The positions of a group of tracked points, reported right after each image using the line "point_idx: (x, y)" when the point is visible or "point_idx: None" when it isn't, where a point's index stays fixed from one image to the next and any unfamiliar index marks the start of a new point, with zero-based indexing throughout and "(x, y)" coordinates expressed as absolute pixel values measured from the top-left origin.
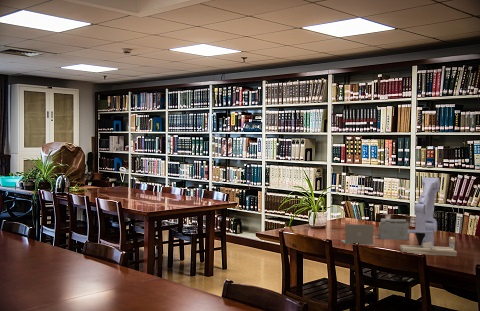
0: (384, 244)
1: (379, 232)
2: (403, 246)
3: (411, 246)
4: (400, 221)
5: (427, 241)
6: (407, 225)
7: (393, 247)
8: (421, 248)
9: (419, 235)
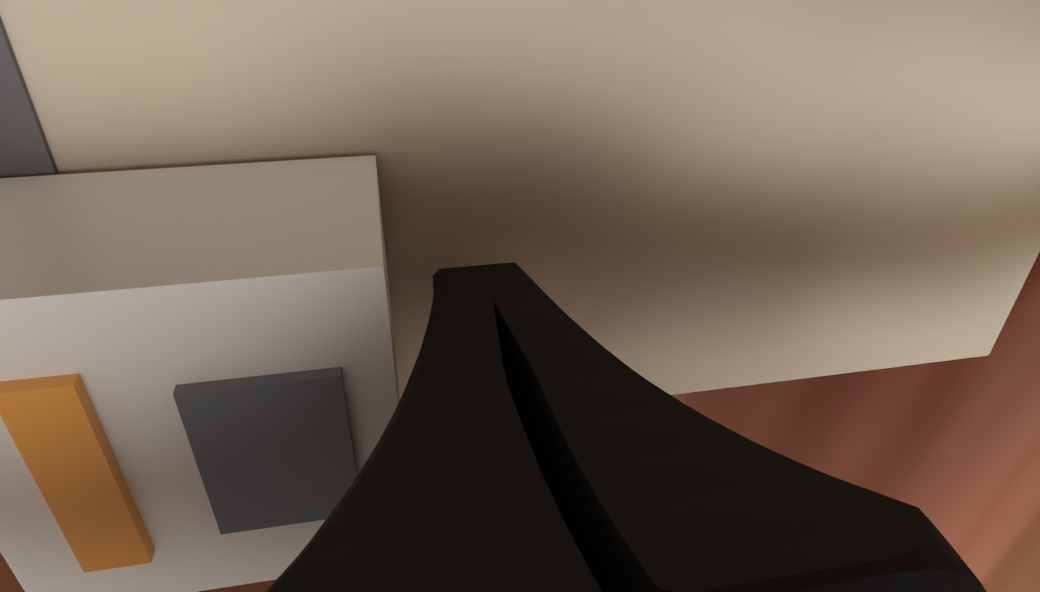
0: (989, 557)
1: None
2: (1017, 172)
3: (746, 253)
4: None
5: (136, 521)
6: None
7: (970, 396)
8: None
9: (762, 555)
